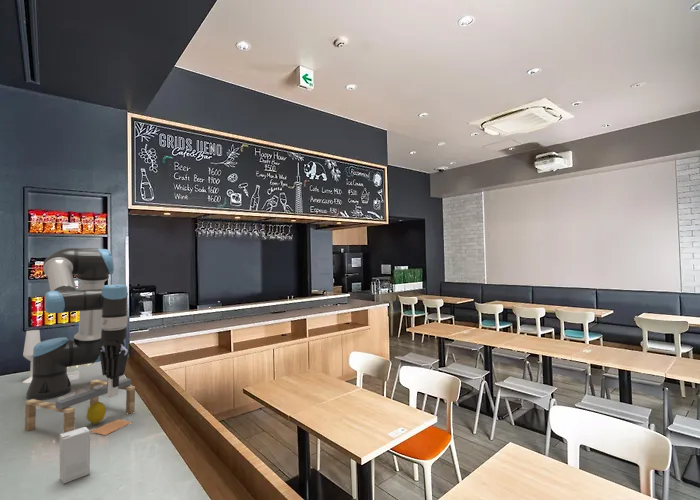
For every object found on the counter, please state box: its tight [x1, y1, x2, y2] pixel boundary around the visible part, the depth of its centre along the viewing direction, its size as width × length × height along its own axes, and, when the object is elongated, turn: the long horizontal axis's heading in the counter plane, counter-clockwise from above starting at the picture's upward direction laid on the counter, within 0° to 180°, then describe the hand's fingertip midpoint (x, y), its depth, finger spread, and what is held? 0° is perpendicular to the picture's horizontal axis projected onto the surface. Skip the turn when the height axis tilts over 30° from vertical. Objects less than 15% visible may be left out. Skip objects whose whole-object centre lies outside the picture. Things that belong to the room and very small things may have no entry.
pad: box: [90, 418, 133, 436], centre depth 127 cm, size 7×10×1 cm
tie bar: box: [55, 378, 133, 409], centre depth 130 cm, size 3×25×3 cm, turn 160°
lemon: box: [86, 400, 107, 425], centre depth 130 cm, size 6×6×8 cm
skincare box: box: [59, 426, 91, 484], centre depth 99 cm, size 6×4×12 cm
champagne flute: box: [22, 329, 41, 384], centre depth 176 cm, size 7×7×24 cm
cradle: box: [24, 379, 136, 433], centre depth 133 cm, size 22×24×10 cm
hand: (112, 396), depth 127 cm, fingers closed
